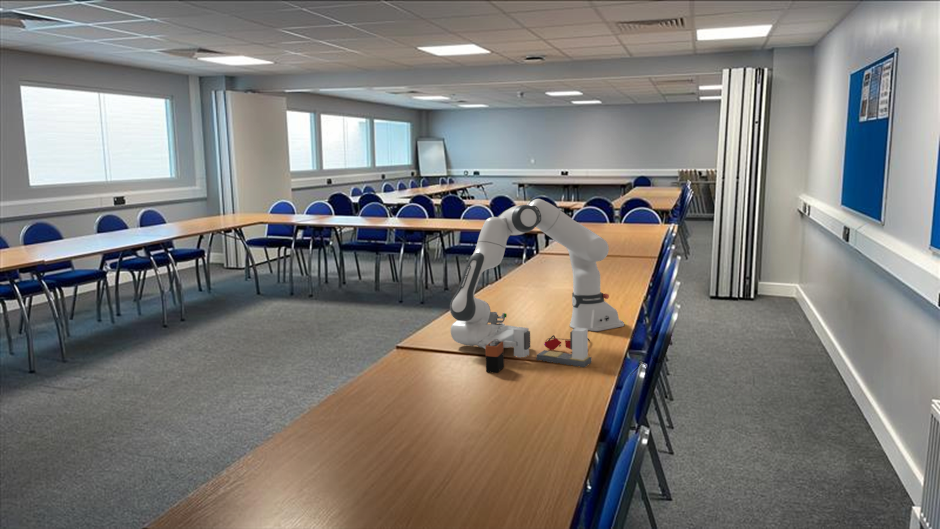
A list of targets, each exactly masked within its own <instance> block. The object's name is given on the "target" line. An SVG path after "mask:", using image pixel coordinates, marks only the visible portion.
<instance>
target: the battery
mask: <svg viewBox="0 0 940 529" xmlns="http://www.w3.org/2000/svg"><path fill="white" fill-rule="evenodd" d="M504 359H505V357H504V348H503V342H501V341H499V340H498V339H493V341H491V342H490V343H489V344H488V345H486V347H485V371H486V372H487V373H492V372H493V374H494V373H495V374H498V373H499V372H500V371H501V370H502V369H503V368H504V367H505V360H504Z"/></svg>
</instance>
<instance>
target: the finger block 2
mask: <svg viewBox="0 0 940 529" xmlns="http://www.w3.org/2000/svg"><path fill="white" fill-rule="evenodd" d="M588 331H589V330H588V329H587V328H579V327H576V328H572V329H571V331H570V332H569V333H570V334H569V335H570V336H569V337H570V338H569V339H570V349H569V350H571V349H572V350H571V354H572V358H573V359H579V360H584V359H585V358H587V357H588V356H589V354H588V352H589V348H588V347H589V345H588V342H589V341H588V339H589V336H588V334H589V332H588Z"/></svg>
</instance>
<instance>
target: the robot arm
mask: <svg viewBox="0 0 940 529" xmlns="http://www.w3.org/2000/svg"><path fill="white" fill-rule="evenodd" d="M535 228H537V229H538V230H540V232H542V233H543V234H545V235H546V236H547V237H549V238H550V239H552V240H553V241H554V242H556V243H558V244H560V245H561V246H563V247H565V248H566V250H567V251H568V255H569V260H570V265H571V270H572V285H573V286H572V288H573V291H572V293H571V294H572V297H571V301H572V303H571V304H572V312H571V313H572V314H571V319H570V323H569V327H570V328H572V329H575V328H576V327H579V328H587V329H588V331H590V332H591V331H592V332H600V331H605V330H612V329H616V328H619V327H620V328H621V327H624V326H625V322H623V320H621V319H620V318H619V312H618V311H617V309H616V308H614V307H613V306H612V305H611V304H609V303H608V302H606V301H605V299H606V300H608V299H609V298H610V295H609V294H608V293H603V292H601V273H600V270H599V269H598V265H597V262H600V261H603V260H605V259H606V257H607V256H608V254H609V250H610V248H609V244H608V242H607V241H606V240H605V239H604V238H602V237H601V236H600V235H598V234H597V233H595V231H592V230H590V229H589V228H588V227H586V226H584V225H583V224H581V223H580V222H577V220H574V219H573V218H571V217H570V216H569V215H568V214H566V213H565V212H563V211H562V210H561V209H559V208H558V207H556V206H555V205H553V204H552V203H550V202H548V201H545V200H544V199H541V198H535V199H532V200H531V201H529V203H528V204H521V205H515V206H512V207H509V208H508V209H505V210H504V211H502V212H501V213H500V214H499V215H497V216H491V217H488V218H487V219H486V220H485V221H484V223H483V225H482V227H481V230H480V232H479V235H478V239H477V243H476V246H475V250H474V251H473V254H472V255H470V257H469V259H468V261H467V263H466V265H465V268H464V270H463V274H462V277H461V280H460V282H459V286H458V288H457V290H456V292H455V293H454V295H453V297H452V299H451V300H450V303H449V312H450V314H451V316H452V318H453V319H455V320H456V321H454V322H452V324H451V327H450V335H451V338H452V340H453V341H454V342H456V343H458V344H460V345H464V346H469V347H474V346H476V347H479V348H483V349H485V347H486V345H488V344H489V343H490V342H491V341H493V339H498V340H499V341H501V342H503V349H505V348H514V347H517V346H518V342H517V341H514V334H513V329H515V328H517V327H518V326H514V325H507V324H505V323H504V322H503V323H497V324H491V323H489V324H488V320H489V317H490V312H491V307H490V304H489V303H488V302H487V301H485V300H483V299H481V298H477V297H475V292H476V289H477V286H478V285H479V281H480V278H481V276H482V274H483V273H484V272H485V271H486V270H489V269H493V268H496V267H497V266H499V265H500V264H501V262H502V261H503V258H504V255H505V251H506V247H507V242H508V240H509V237H512V236H519V235H523V234H525V233H530V232H531V231H533V230H534V229H535Z"/></svg>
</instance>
